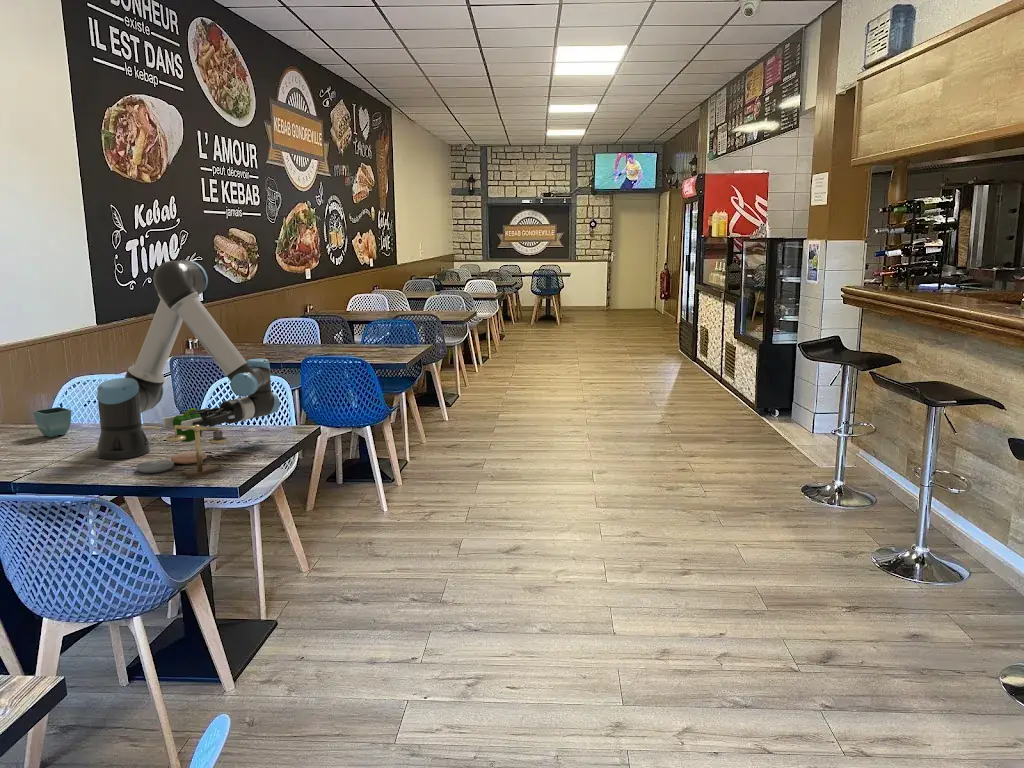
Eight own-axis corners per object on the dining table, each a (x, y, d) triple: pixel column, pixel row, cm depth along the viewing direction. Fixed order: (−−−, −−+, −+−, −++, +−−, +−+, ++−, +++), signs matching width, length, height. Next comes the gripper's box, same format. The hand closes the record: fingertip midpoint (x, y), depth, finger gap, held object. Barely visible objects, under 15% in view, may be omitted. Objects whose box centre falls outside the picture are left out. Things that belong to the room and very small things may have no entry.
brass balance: (166, 479, 212) (161, 425, 209) (221, 464, 227) (218, 413, 224) (176, 482, 209) (172, 428, 206) (232, 466, 224) (229, 415, 222)
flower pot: (74, 434, 262) (72, 409, 260) (48, 439, 254) (45, 414, 253) (61, 431, 266) (59, 406, 265) (35, 436, 259) (32, 411, 257)
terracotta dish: (164, 462, 229) (164, 457, 228) (193, 454, 237) (192, 449, 237) (184, 467, 224) (184, 462, 223) (213, 459, 232) (212, 454, 232)
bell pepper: (169, 444, 225) (166, 411, 223) (181, 437, 233) (179, 405, 231) (197, 444, 225) (194, 411, 223) (208, 437, 233) (206, 406, 231)
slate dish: (130, 471, 220) (129, 465, 219) (161, 462, 228) (161, 457, 228) (150, 476, 214) (149, 471, 214) (181, 468, 223) (181, 463, 222)
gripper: (258, 425, 238) (195, 441, 219) (216, 417, 249) (153, 432, 230) (257, 402, 237) (193, 416, 218) (215, 396, 248) (151, 408, 229)
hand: (173, 424), depth 224 cm, fingers closed on bell pepper, 8 cm apart
